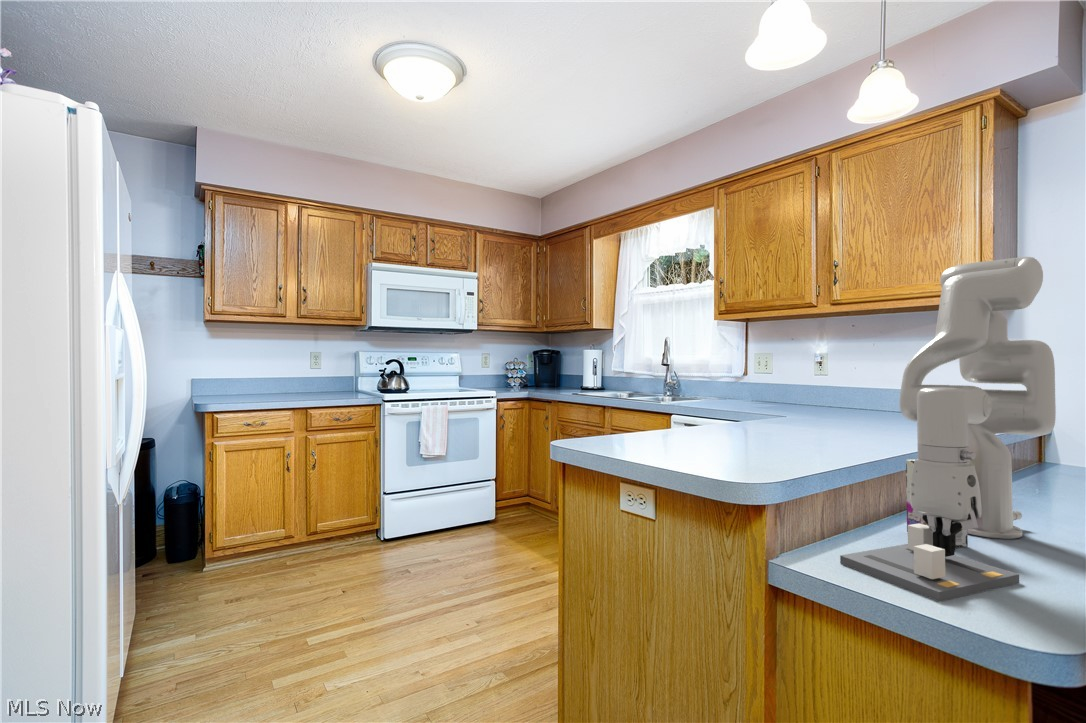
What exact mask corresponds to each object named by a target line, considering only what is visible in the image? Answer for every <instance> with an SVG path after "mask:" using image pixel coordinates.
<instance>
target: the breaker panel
mask: <svg viewBox="0 0 1086 723" xmlns="http://www.w3.org/2000/svg"><path fill="white" fill-rule="evenodd" d="M839 557H840V558H839V560H840V564H841V565H844V566H846V567H849V568H851V569H854V570H856V571H859V572H861V573H865V574H867V575H869V576H872V577H875V578H877V579H879V580H882V581H885V582H888V583H890V584H893V585H896V586H897V587H900V588H903V589H904V590H905V589H906V590H908V591H910V592H914V593H916V594H918V595H921V596H923V597H925V598H929V599H931V600H934V601H936V602H945V601H947V600H953V599H958V598H961V597H966V596H970V595H973V594H979V593H982V592H988V591H991V590H996V589H999V588H1004V587H1008V586H1013V585H1017V584H1020V574H1019V573H1017V572H1012V571H1009V570H1007V569H1002V568H1000V567H996V566H993V565H990V564H986V563H984V562H981V561H976V560H973V559H970V558H967V557H963V556H960V555H956V554H954V555H953V556H948V557H945V577H941V578H936V579H930V578H927V577H924V576H921V575H919V574H916V573H914V550H911V549H908V543H904V544H899V545H893V546H887V547H881V548H875V549H869V550H863V551H858V552H852V553H845V554H841V555H840V556H839Z"/></svg>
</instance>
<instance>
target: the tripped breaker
mask: <svg viewBox="0 0 1086 723" xmlns="http://www.w3.org/2000/svg"><path fill="white" fill-rule="evenodd" d="M907 544H908V549H911V550H914V546H918V545H924V544H928V545H932V546H933V532H931V531H930V530H929V526H927V525H923V524H920V523H918V524H912V525H908V532H907Z"/></svg>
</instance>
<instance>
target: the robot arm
mask: <svg viewBox="0 0 1086 723" xmlns="http://www.w3.org/2000/svg"><path fill="white" fill-rule="evenodd" d="M939 279H940V280H939V281H940V287H941V292H940V299H939V306H938V312H937V319H936V327H935V336H934V338H932V340H930V341H929V342H928V343H926V344H925V345H924V346H923V347H921V348H920V349H919V350H918V351H917V352H916V353H915V354H914V355H913V356H912V358H911V359H910V360H909V361H908V363H907V364H906V366H905V368H904V371H903V374H902V380H901V385H900V386H901V388H900V392H899V410H900V412H901V414H902V416H903V417H904V418H905V419H907V420H908V421H910V422H916V423H917V424H916V427H917V430H916V432H917V458H916V459H915V458H914V459H915V461H914V465H913V470H912V476H911V487H910V500H911V506H912V508H913V512H912V513H913V515H915V516H917V517H919V518H921V519H923V520H924V521H925V522H926V523H927V525H928V526H929V530H930V531H931V532H933V546H935V547H938V548H942V549H945V557H948V556H953V555H956V554H955V552H956V550H957V547H956V536H955V534H958V533H959V532H960V531H961V530H963V529H967V535H973V536H977V537H978V536H979V537H985V538H992V539H1001V540H1003V539H1004V540H1005V539H1007V540H1008V539H1009V540H1010V539H1013V540H1014V539H1019V538H1021V537H1023V529H1021V528H1019V527H1018V526H1015V525H1014V521H1017V520H1021V519H1022V518H1023V515H1022V512H1020V511H1019V510H1014V511H1013V506H1014V505H1013V468H1012V465H1013V461H1012V460H1013V459H1012V454H1011V452H1010V450H1009V447H1008V446H1006V444H1005V443H1004V442H1003V441H1002V440H1001V439H1000V438H999V437H998V436H997V434H1001V435H1002V434H1007V435H1008V434H1009V435H1023V436H1044V435H1045V436H1046V435H1048V434H1050V433H1051V432H1052V431H1053V430H1054V429H1055V424H1056V413H1057V412H1056V410H1057V409H1056V407H1057V406H1056V376H1055V375H1056V371H1055V370H1056V369H1055V368H1056V367H1055V358H1054V354H1053V353H1054V352H1053V351H1052V348H1051V347H1050V346H1049V345H1048V344H1047V343H1046V342H1044V341H1041V340H1036V339H1022V340H1019V339H1017V340H1009V337H1008V319H1007V316H1006V315H1005V314H1004V313H1003V311H1005V312H1006V311H1015V310H1016V311H1017V310H1022V309H1026V308H1028V307H1030V305H1032V303H1033V301H1035V298H1036V297H1037V295H1038V293H1039V292H1040V290H1041V288H1042V286H1043V282H1044V271H1043V267H1042V265H1041V262H1040V261H1038V259H1036V258H1035V257H1031V256H1020V257H1019V256H1018V257H1012V258H1004V259H996V260H995V259H993V260H986V261H984V260H983V261H978V262H977V261H976V262H969V263H963V264H958V265H955V266H951V267H948V268H947V269H945V270H944V271H943V272H942V273H941V274H940V278H939ZM956 360H958V362H959V371H960V375H961V377H962V379H964V380H965V381H967V382H969V383H975V384H1000V385H1003V384H1005V385H1008V384H1009V385H1022V386H1024V387H1025V388H1026V389H1025V390H1023V389H1022V390H1019V389H1015V390H1014V389H1007V390H1006V389H985V388H981V387H978V386H974V385H963V384H962V385H958V384H957V385H955V384H954V385H950V384H923V382H924V380H925V378H926V376H928V374H929V373H931V372H933V370H935V369H938V368H939V367H941V366H943V365H945V364H947V363H950V362H953V361H956ZM962 521H964V522H962Z"/></svg>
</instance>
